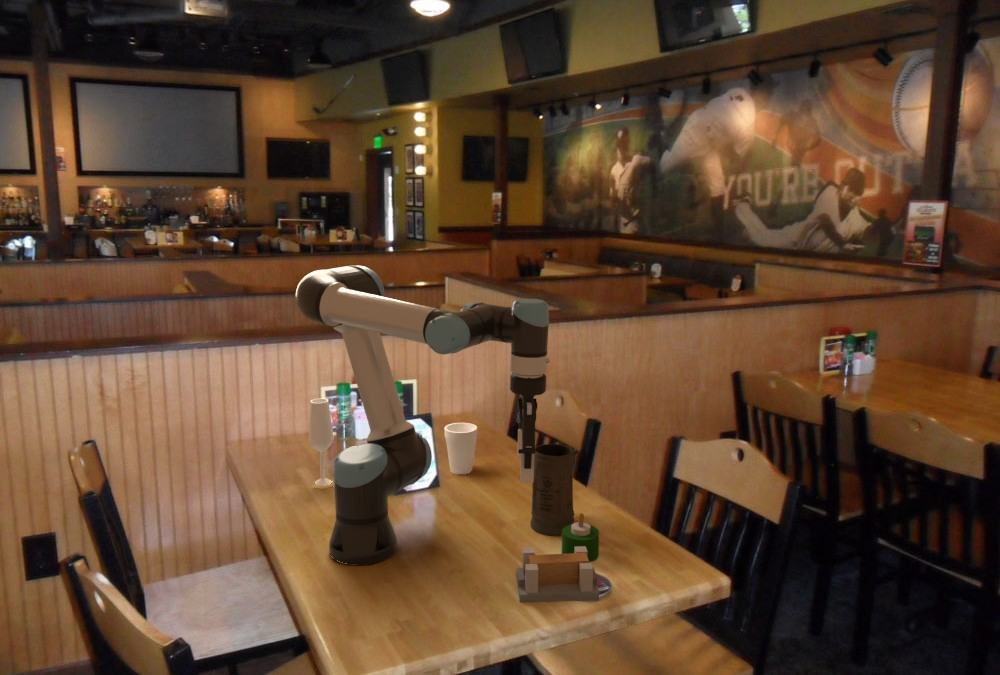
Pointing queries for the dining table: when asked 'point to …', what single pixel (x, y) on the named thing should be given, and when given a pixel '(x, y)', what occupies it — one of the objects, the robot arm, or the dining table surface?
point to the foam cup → (461, 446)
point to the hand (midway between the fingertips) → (524, 469)
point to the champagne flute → (320, 433)
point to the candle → (581, 538)
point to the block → (558, 568)
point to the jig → (566, 592)
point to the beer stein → (552, 489)
